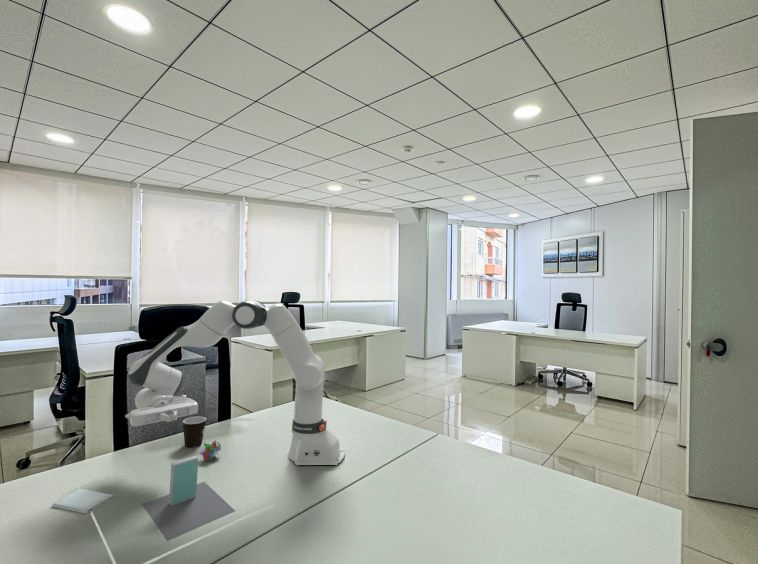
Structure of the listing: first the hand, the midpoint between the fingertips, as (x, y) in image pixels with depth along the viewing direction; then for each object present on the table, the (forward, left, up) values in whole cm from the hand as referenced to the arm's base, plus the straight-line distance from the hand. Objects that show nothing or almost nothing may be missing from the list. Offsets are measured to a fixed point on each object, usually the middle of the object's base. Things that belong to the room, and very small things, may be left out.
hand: (172, 418), depth 118 cm
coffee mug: (+12, -31, -22) cm, 40 cm away
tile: (-10, +7, -21) cm, 24 cm away
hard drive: (+18, +13, -23) cm, 32 cm away
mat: (-14, +10, -22) cm, 28 cm away
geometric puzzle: (-2, -19, -22) cm, 29 cm away
